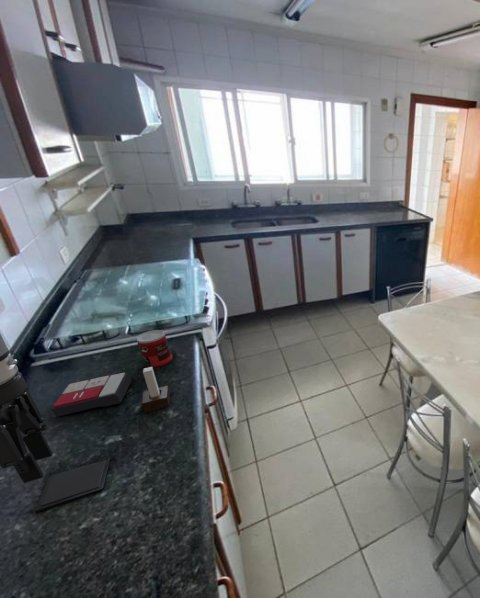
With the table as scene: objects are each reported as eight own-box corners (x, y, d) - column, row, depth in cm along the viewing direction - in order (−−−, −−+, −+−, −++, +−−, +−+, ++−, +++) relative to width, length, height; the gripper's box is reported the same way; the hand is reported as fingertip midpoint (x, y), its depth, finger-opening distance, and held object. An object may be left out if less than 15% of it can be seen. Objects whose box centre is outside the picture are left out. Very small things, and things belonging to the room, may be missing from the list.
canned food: (148, 358, 118) (138, 332, 113) (174, 353, 122) (165, 327, 117) (144, 370, 112) (133, 344, 107) (172, 364, 116) (162, 338, 111)
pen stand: (144, 414, 95) (141, 403, 93) (147, 401, 100) (143, 390, 98) (169, 407, 98) (166, 397, 96) (170, 395, 103) (167, 385, 101)
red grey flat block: (67, 382, 99) (126, 369, 104) (74, 393, 101) (132, 380, 106) (48, 407, 90) (114, 392, 95) (56, 418, 92) (120, 403, 97)
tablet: (35, 513, 69) (34, 510, 69) (50, 478, 76) (48, 475, 76) (103, 491, 74) (102, 488, 74) (111, 460, 81) (109, 457, 81)
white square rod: (153, 407, 98) (142, 372, 92) (154, 403, 99) (143, 368, 94) (162, 405, 99) (151, 370, 93) (162, 401, 100) (152, 366, 95)
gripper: (-4, 405, 55) (48, 496, 65) (36, 350, 69) (74, 431, 79) (-73, 420, 51) (-7, 514, 61) (-16, 358, 66) (30, 442, 75)
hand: (39, 467), depth 70 cm, fingers open, 5 cm apart
